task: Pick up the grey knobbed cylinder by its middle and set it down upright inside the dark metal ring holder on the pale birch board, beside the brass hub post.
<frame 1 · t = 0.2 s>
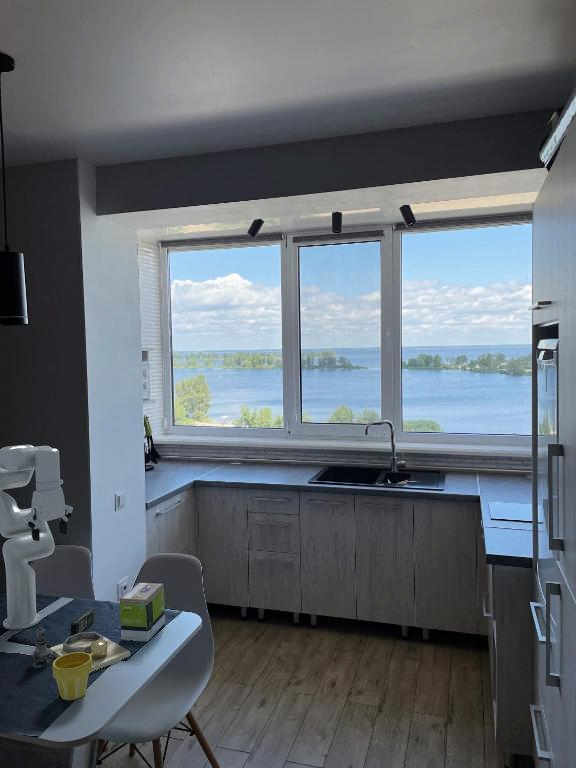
hand: (49, 536, 199), 36 cm above the table, tool pointing down, fingers open, 9 cm apart
plant pot: (73, 694, 169), on the table
brass hub post: (99, 660, 188), resting on birch board
mobile phone: (84, 628, 212), on the table
birch board: (89, 654, 192), on the table
grey knobbed cylinder: (41, 664, 186), on the table
ring holder: (83, 650, 195), resting on birch board
tea box: (143, 632, 208), on the table
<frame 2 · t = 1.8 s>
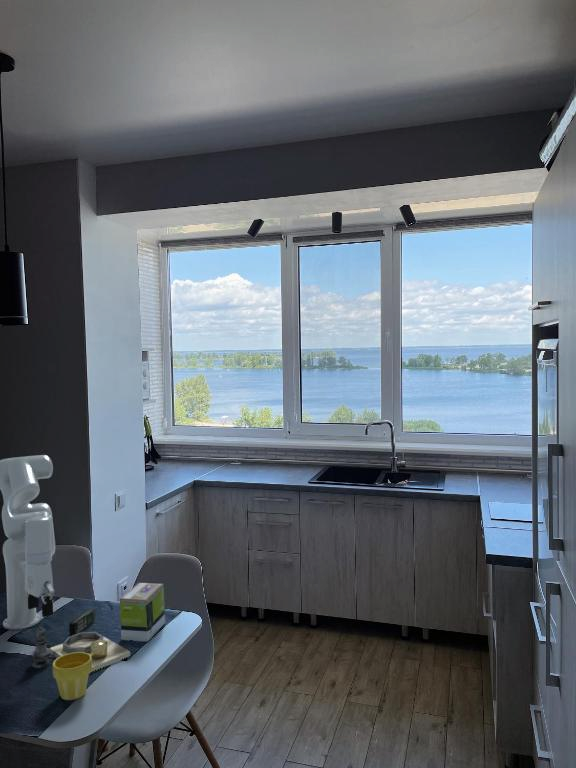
hand: (40, 611, 186), 17 cm above the table, tool pointing down, fingers open, 9 cm apart
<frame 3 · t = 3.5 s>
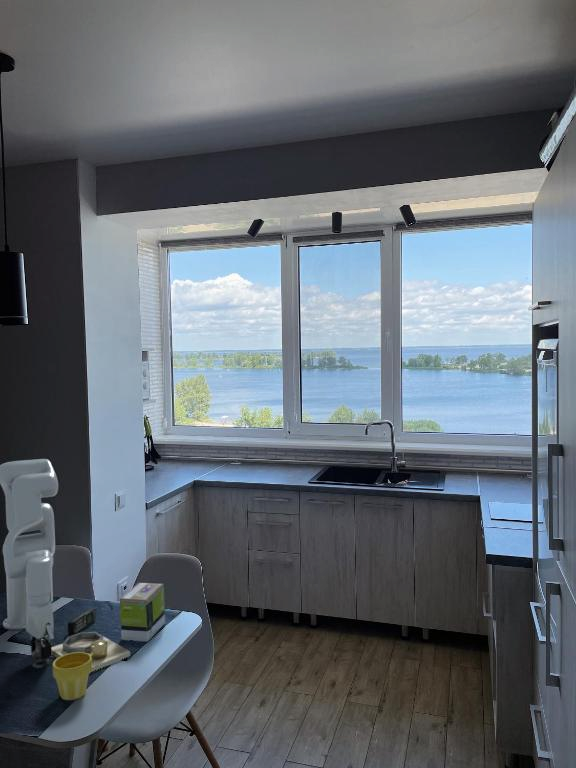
hand: (41, 654, 186), 3 cm above the table, tool pointing down, fingers closed on grey knobbed cylinder, 5 cm apart
grey knobbed cylinder: (41, 664, 186), on the table, touching gripper
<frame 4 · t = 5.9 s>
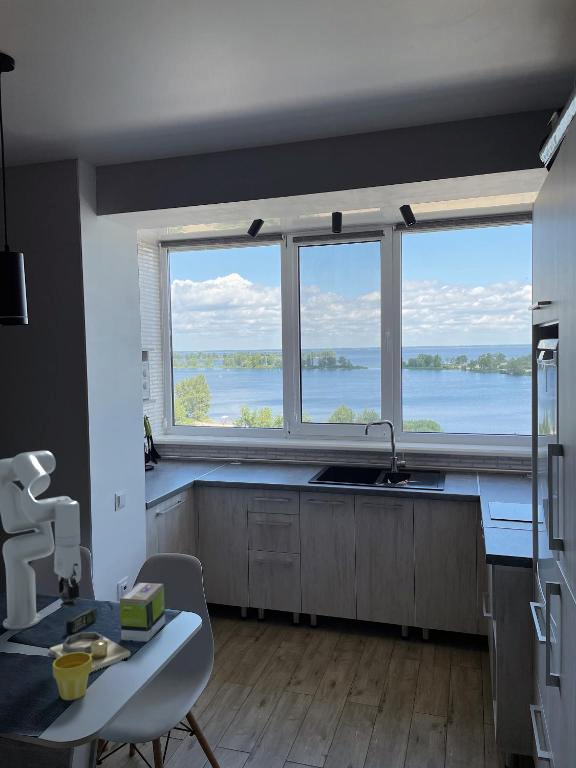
hand: (69, 594, 192), 19 cm above the table, tool pointing down, fingers closed on grey knobbed cylinder, 5 cm apart
grey knobbed cylinder: (69, 604, 192), point 16 cm above the table, touching gripper
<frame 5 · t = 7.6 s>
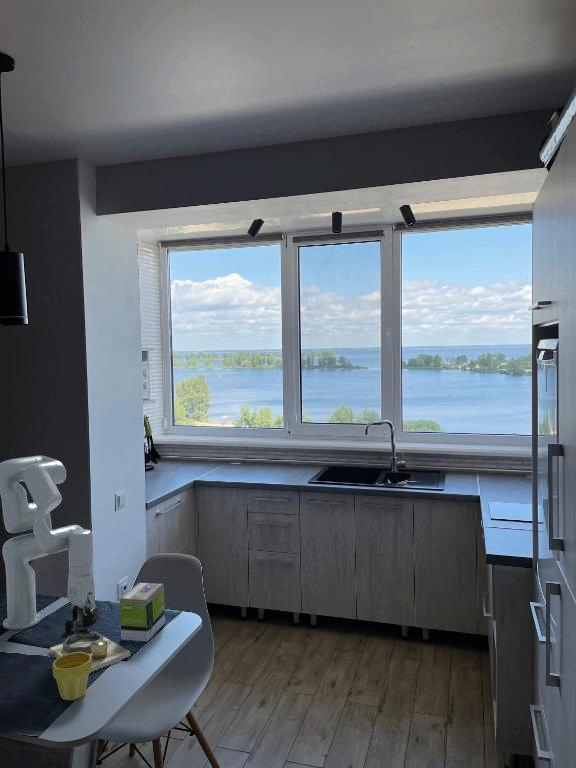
hand: (82, 622, 194), 9 cm above the table, tool pointing down, fingers closed on grey knobbed cylinder, 5 cm apart
grey knobbed cylinder: (82, 632, 194), point 6 cm above the table, touching gripper
when the fingers open (6 cm above the table, at t = 8.7 s): grey knobbed cylinder drops 1 cm, resting on birch board.
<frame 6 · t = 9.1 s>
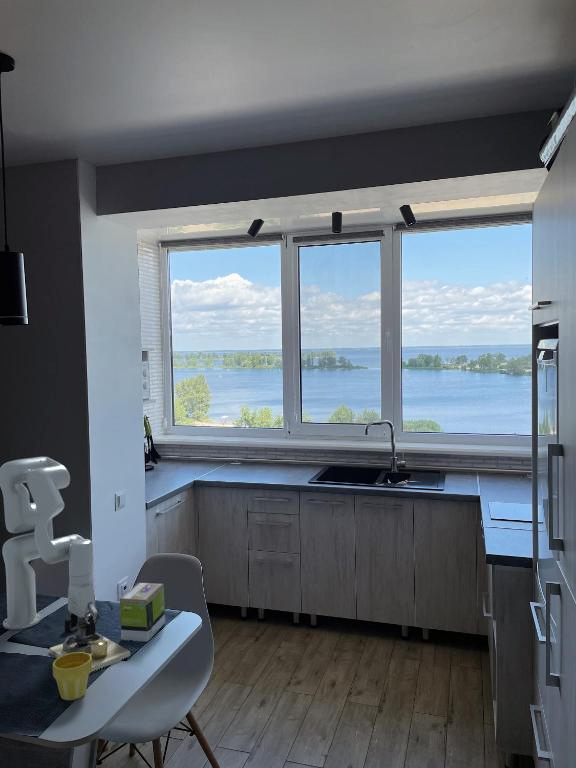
hand: (82, 630, 194), 7 cm above the table, tool pointing down, fingers open, 9 cm apart
grey knobbed cylinder: (82, 646, 195), point 1 cm above the table, touching birch board
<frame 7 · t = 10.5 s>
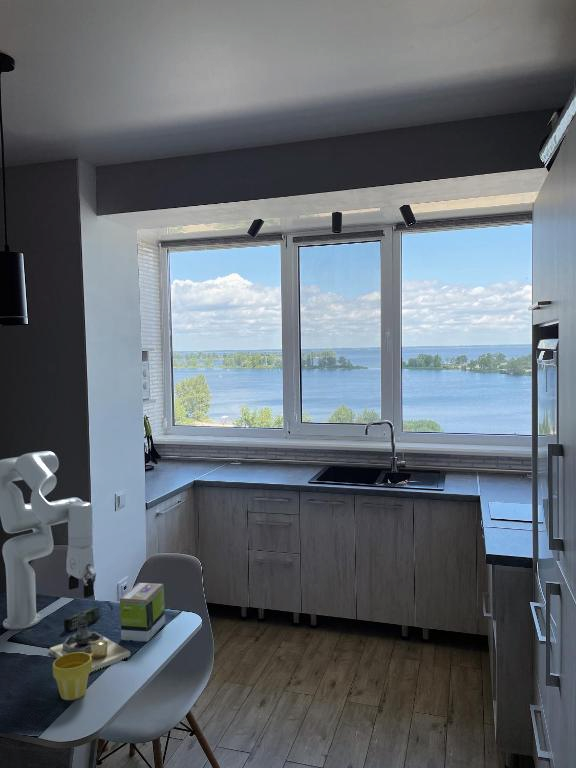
hand: (81, 592, 194), 19 cm above the table, tool pointing down, fingers open, 9 cm apart
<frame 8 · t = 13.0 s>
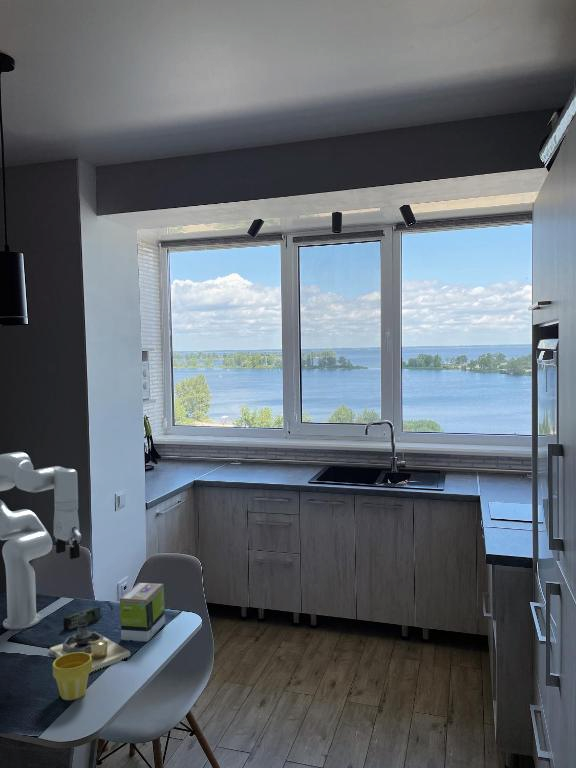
hand: (67, 555, 204), 28 cm above the table, tool pointing down, fingers open, 9 cm apart
at the end: grey knobbed cylinder 0.2 cm off-centre on the ring holder, point 1.3 cm above the ring holder's base; grey knobbed cylinder tilted 0°; the gripper is holding nothing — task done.
